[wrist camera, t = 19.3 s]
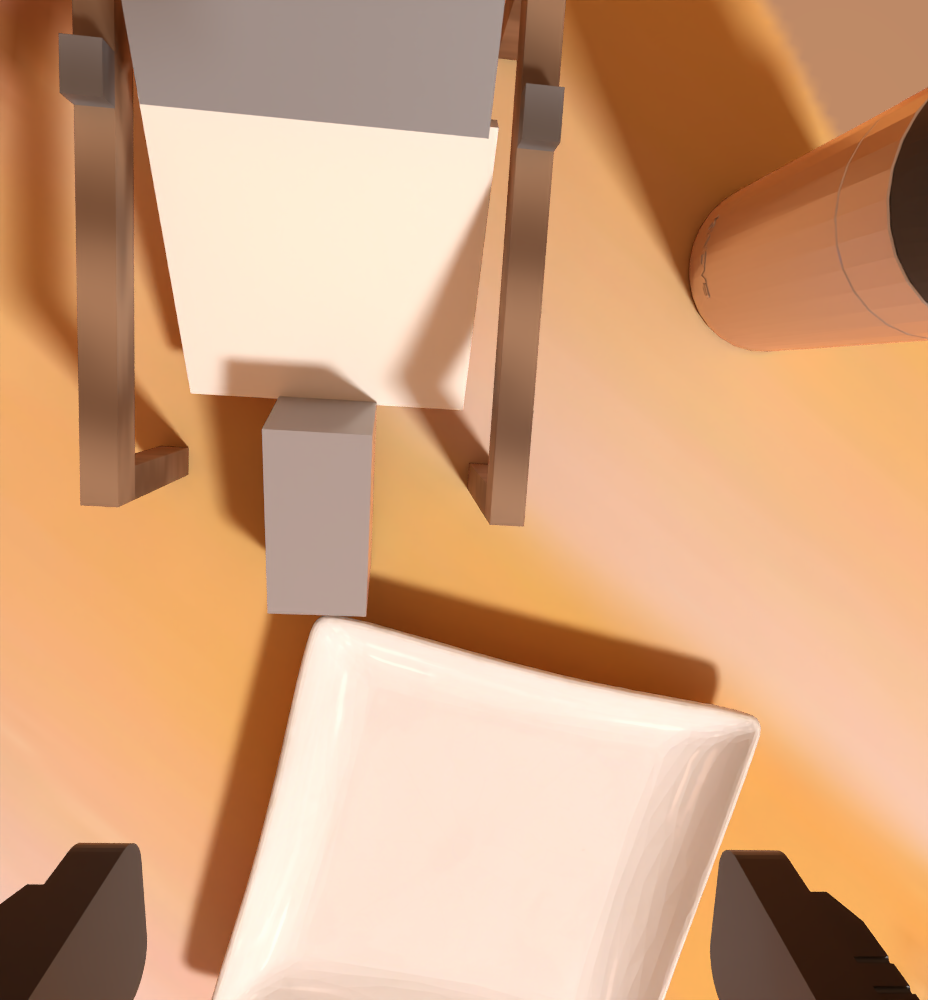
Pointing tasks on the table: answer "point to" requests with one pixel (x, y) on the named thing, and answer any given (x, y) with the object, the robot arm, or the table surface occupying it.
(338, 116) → the trapdoor
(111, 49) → the frame
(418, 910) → the square plate
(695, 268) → the robot arm
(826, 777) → the table surface
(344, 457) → the granite block
